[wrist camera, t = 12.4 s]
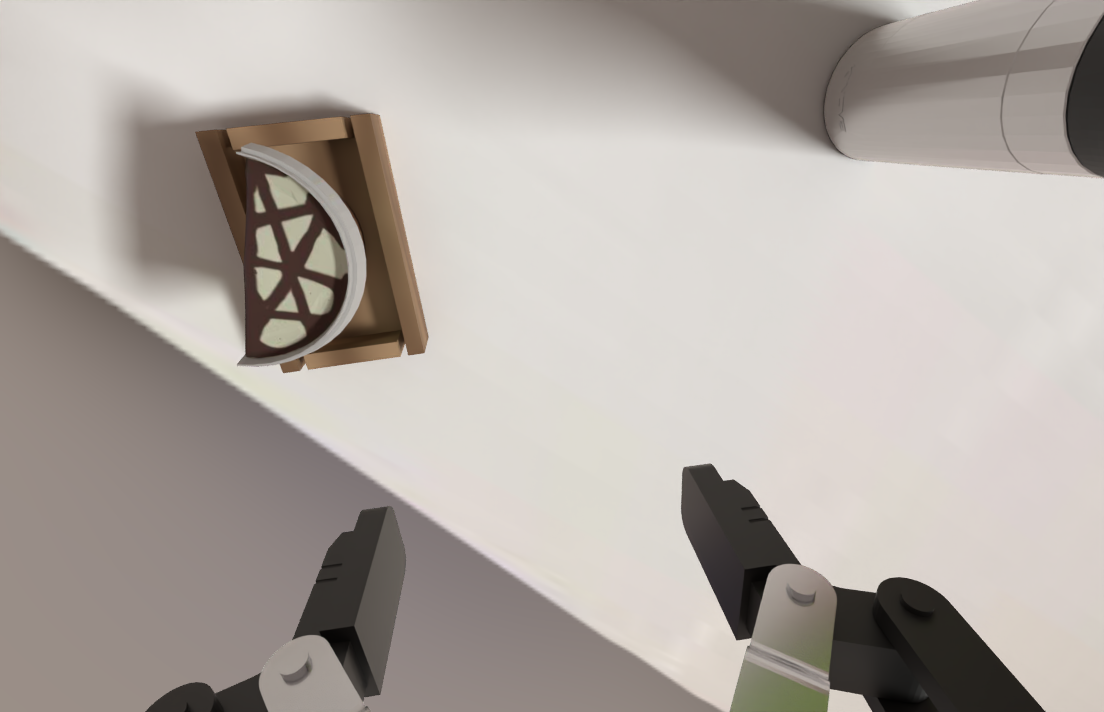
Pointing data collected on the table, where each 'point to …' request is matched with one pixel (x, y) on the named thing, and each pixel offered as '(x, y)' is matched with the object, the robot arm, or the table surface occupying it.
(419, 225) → the table surface
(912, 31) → the robot arm
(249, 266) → the food container
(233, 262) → the table surface
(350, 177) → the holder
